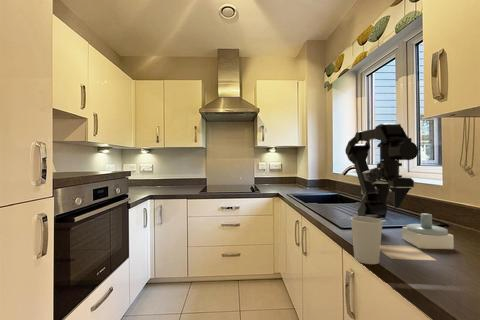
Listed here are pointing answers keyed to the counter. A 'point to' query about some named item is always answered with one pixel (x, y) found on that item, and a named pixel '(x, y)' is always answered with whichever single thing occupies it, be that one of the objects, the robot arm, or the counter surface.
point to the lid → (427, 227)
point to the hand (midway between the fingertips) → (389, 205)
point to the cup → (366, 239)
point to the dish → (428, 240)
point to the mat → (404, 253)
